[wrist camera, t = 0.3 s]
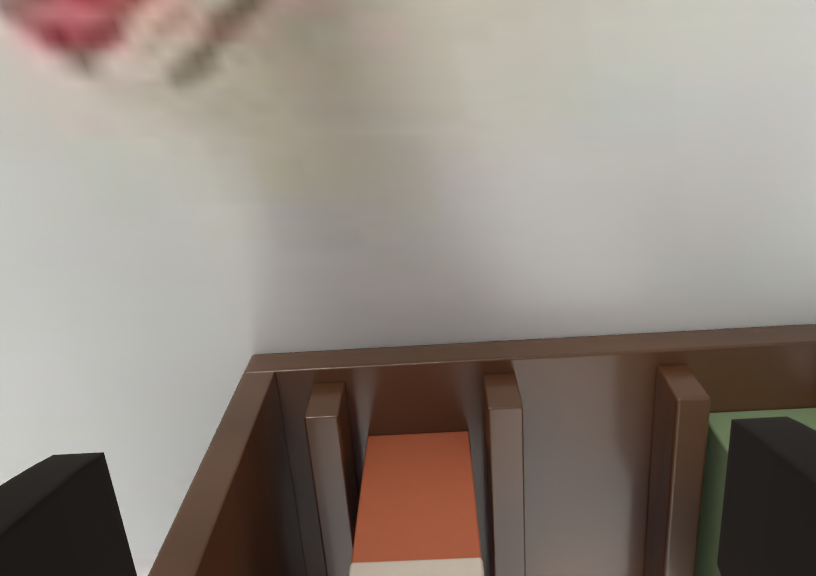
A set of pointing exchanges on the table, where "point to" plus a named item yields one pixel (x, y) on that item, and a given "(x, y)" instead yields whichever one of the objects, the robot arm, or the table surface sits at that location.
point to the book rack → (487, 448)
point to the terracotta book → (417, 508)
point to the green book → (716, 475)
